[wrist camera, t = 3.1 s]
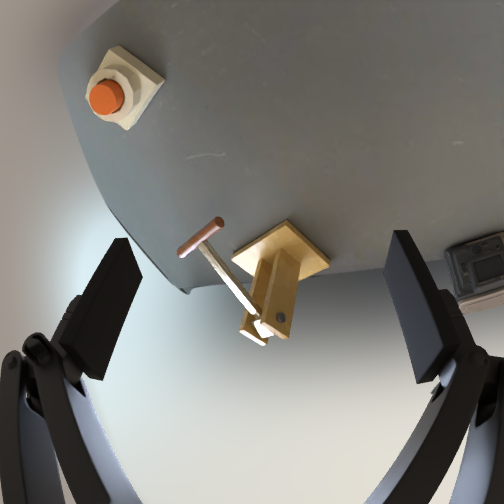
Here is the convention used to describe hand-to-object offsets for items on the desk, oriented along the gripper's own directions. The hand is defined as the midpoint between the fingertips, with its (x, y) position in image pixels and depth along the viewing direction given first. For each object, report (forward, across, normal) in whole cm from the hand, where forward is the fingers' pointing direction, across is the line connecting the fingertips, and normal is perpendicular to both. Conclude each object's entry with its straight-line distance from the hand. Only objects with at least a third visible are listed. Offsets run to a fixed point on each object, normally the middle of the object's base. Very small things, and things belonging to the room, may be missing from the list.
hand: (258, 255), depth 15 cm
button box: (+25, -17, +7) cm, 31 cm away
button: (+21, -17, +7) cm, 28 cm away
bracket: (+25, +1, -21) cm, 33 cm away
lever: (+17, -4, -18) cm, 25 cm away
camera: (+20, +31, -15) cm, 40 cm away
